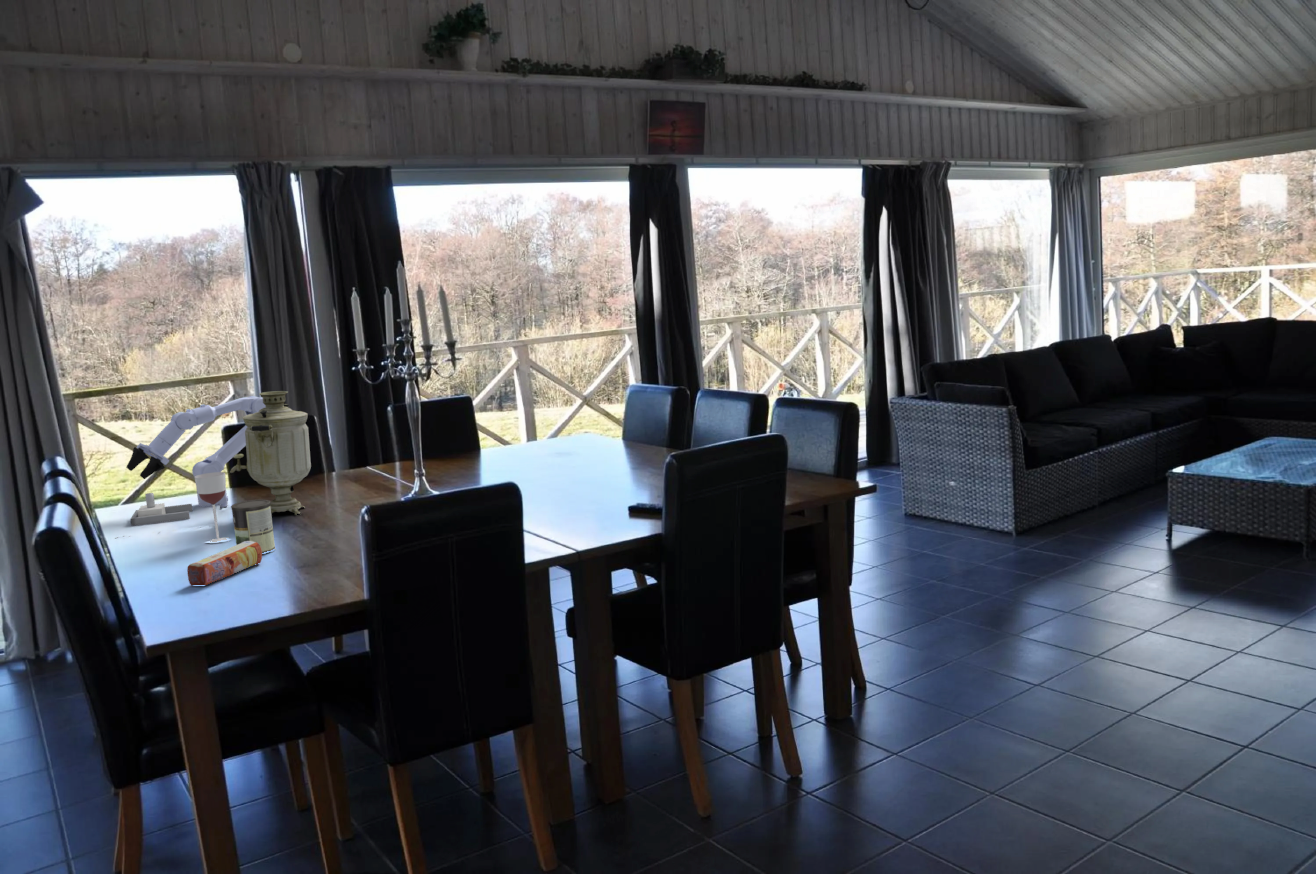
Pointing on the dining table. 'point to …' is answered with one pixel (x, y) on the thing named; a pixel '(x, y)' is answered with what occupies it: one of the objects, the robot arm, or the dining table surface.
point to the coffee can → (254, 523)
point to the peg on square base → (151, 507)
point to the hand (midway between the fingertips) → (135, 473)
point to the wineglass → (212, 492)
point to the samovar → (277, 449)
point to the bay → (164, 515)
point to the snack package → (224, 563)
